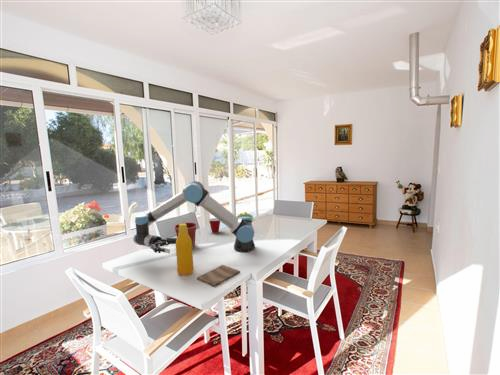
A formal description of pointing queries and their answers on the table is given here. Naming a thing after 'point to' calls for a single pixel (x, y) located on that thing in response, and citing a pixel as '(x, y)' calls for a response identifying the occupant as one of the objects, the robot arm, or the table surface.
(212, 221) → the plastic cup
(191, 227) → the flower pot
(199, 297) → the table surface
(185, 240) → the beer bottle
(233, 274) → the walnut board
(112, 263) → the table surface
